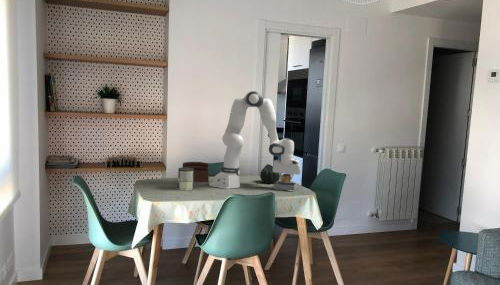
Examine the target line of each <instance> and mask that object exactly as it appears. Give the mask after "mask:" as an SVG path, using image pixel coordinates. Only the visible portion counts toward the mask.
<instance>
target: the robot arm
mask: <svg viewBox="0 0 500 285" xmlns="http://www.w3.org/2000/svg"><path fill="white" fill-rule="evenodd" d="M254 107H255V108H257V110H258V112H259V116H260V119H261V122H262V124H263V126H264V127H265V128H266V130H267V133H268V137H269V147H268V151H269V153H270V155H271V156H274V157H275V156H277V157H278V156H280V159H274V160H272V166H273V172H275V173H279V175H280V178H279V180H281V176H282V174H291V177H290V180H291V181H292V180H293V177H294V175H297V176H299V175H300V174H301V171H302V168H301V164H300V160H298V159H296V158H294V151H295V142H294V140H293V139H292V138H291V139H290V138H288V137H284V138H282V139H279V136H278V132H277V114H276V110H275V106H274V103H273V101H272V100H271V98H268V97H267V98H266V97H265V98H264V97H262V95H261V94H260V93H259V92H257V91H255V90H253V91H252V90H251V91H248V92H247V93H246V95H245V96H244V97H243V98H240V97H239V98H236V99H234V100H233V103H232V105H231V109H230V112H229V118H228V122H227V126H226V128H225V131H224V134H223V136H222V138H221V139H222V143H223V145H225V146H226V149H225V153H224V155H223V158H224V159H223V161H224V162H223V166H222V167H220V170H221V171H220V172H219V173H217V174H216V175H214V176H213V178H212V181H211V182H209V184H208V185H209V187H214V188H221V189H225V190H226V189H227V190H229V189H240V188H241V184H240V173H241V172H240V171H241V169H240V158H241V154H242V153H241V152H242V149H243V146H244V144H245V140H244V137H242V135H241V132H242V129H243V127H244V125H245V121H246V120H245V119H246V115H247V110H248V108H254Z"/></svg>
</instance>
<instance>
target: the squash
mask: <svg viewBox="0 0 500 285" xmlns="http://www.w3.org/2000/svg"><path fill="white" fill-rule="evenodd" d="M259 177H260V180H261V181H262V183H264V184H274V183H276V182H277V181H280V175H279V173H275V172H273V165H271V164H268V163H267V164H266V165H264V167H263V168H262V169H261V171H260V174H259Z"/></svg>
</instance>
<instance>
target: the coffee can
mask: <svg viewBox="0 0 500 285" xmlns="http://www.w3.org/2000/svg"><path fill="white" fill-rule="evenodd" d="M177 170H178V175H177V176H178V177H177V179H178V180H177V190H180V191H191V190H193V189H194V188H193V187H194V182H193V170H194V169H193V168H189V167H183V166H182V167H178V169H177Z"/></svg>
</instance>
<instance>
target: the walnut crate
mask: <svg viewBox="0 0 500 285" xmlns="http://www.w3.org/2000/svg"><path fill="white" fill-rule="evenodd" d="M290 177H292V174H286V173H282V174H281V179H280V181H281V183H289V182H292V180H290Z"/></svg>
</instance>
